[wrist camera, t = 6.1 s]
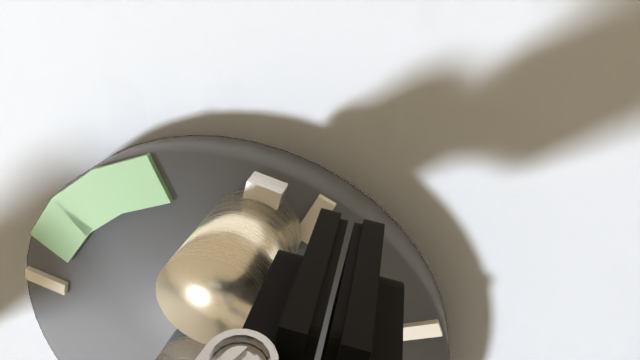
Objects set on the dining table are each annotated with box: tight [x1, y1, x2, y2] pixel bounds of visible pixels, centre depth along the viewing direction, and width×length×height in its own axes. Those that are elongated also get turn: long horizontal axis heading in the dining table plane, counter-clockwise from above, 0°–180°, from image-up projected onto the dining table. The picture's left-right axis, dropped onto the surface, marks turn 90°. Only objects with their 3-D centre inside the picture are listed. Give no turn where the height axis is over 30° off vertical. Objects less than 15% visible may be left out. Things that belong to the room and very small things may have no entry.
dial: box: [25, 135, 450, 360], centre depth 18 cm, size 18×18×2 cm
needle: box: [155, 171, 302, 360], centre depth 14 cm, size 11×4×4 cm, turn 163°
